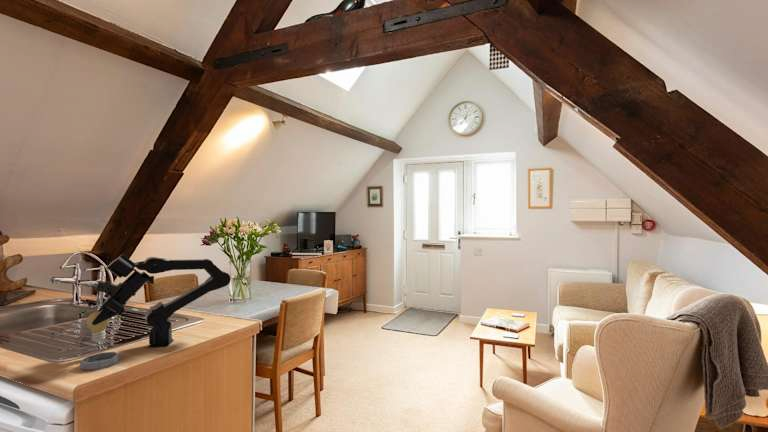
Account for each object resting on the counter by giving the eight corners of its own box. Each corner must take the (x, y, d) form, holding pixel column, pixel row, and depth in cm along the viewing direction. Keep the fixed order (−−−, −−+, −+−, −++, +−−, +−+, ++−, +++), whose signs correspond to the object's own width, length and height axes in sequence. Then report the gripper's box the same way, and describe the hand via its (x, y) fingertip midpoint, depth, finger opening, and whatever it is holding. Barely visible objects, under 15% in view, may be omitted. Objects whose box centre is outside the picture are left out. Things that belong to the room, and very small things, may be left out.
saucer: (123, 357, 129) (123, 350, 129) (109, 368, 120) (109, 361, 120) (91, 360, 127) (91, 353, 127) (74, 371, 118) (74, 364, 118)
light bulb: (114, 337, 134) (113, 309, 134) (101, 343, 128) (101, 313, 128) (96, 337, 134) (95, 309, 134) (82, 343, 128) (81, 314, 128)
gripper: (110, 269, 141) (73, 303, 134) (111, 275, 126) (69, 313, 119) (136, 287, 145) (101, 321, 139) (140, 295, 130) (101, 333, 124)
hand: (93, 322), depth 130 cm, fingers closed on light bulb, 6 cm apart
